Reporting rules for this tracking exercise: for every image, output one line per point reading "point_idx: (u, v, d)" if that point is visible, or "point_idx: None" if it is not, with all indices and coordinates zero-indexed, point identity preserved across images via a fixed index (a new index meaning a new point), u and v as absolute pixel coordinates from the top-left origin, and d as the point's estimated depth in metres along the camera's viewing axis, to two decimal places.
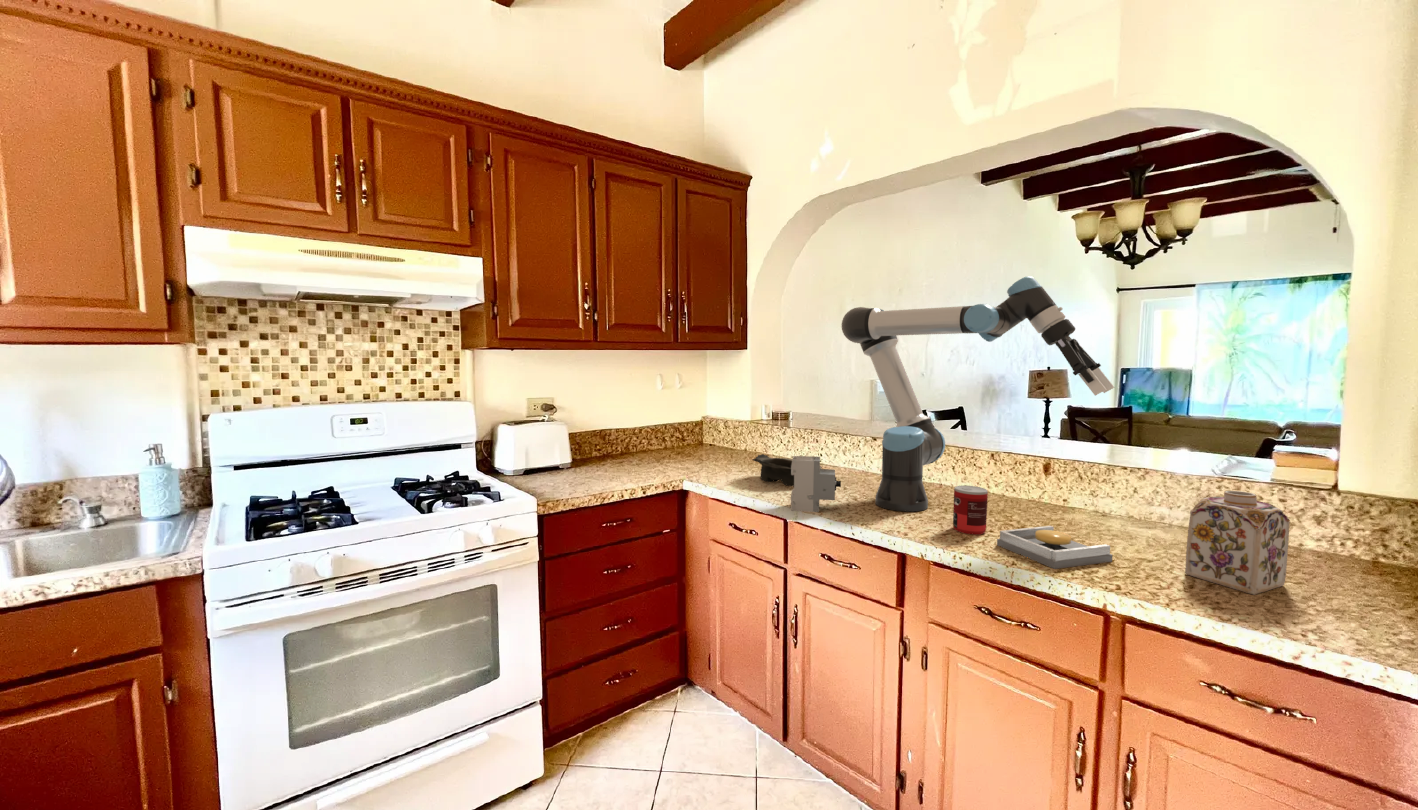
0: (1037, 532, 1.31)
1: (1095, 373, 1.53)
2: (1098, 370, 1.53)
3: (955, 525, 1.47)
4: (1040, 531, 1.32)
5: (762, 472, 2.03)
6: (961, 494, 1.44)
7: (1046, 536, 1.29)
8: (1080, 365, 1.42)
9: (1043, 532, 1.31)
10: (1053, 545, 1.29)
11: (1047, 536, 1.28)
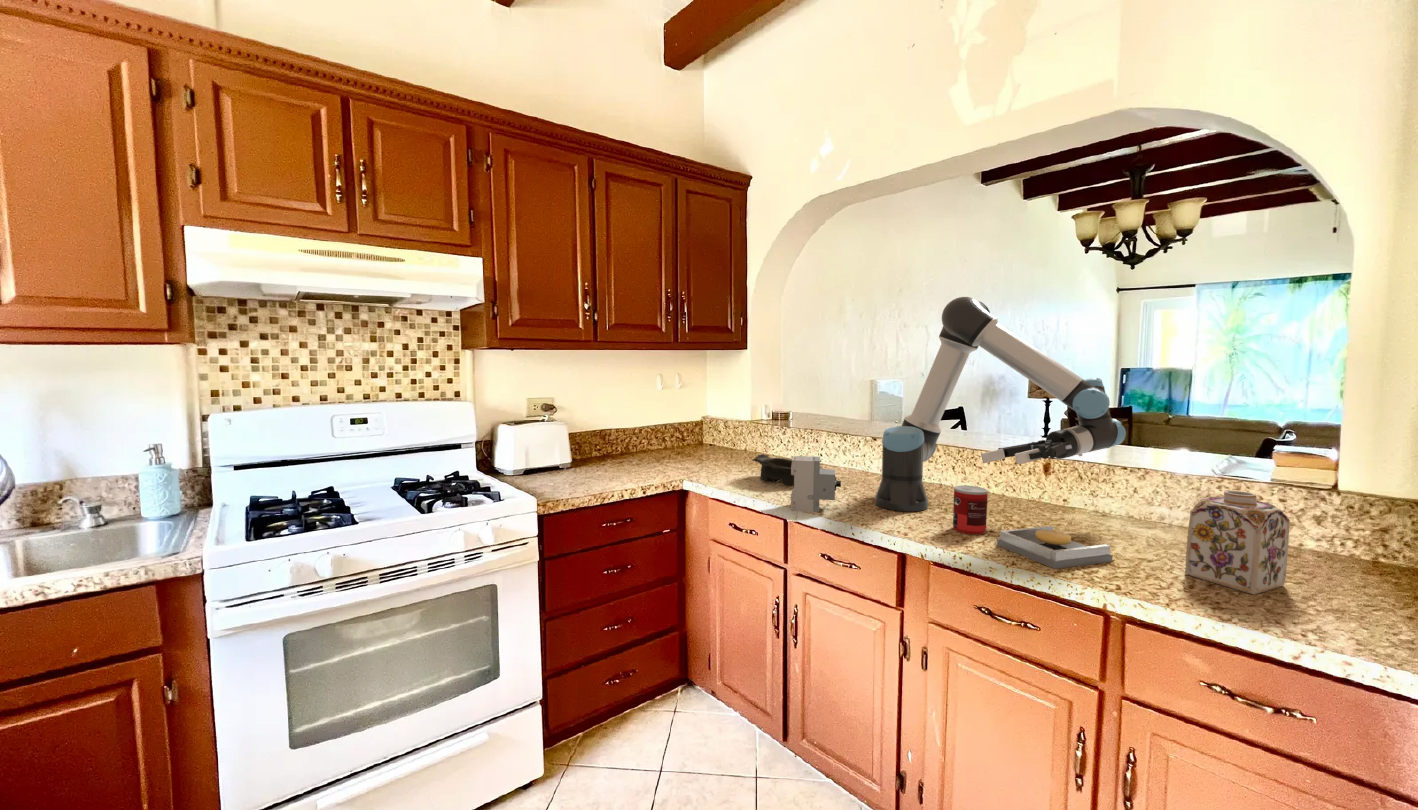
0: (1037, 532, 1.31)
1: (1001, 454, 1.57)
2: (1002, 457, 1.57)
3: (955, 525, 1.47)
4: (1040, 531, 1.32)
5: (762, 472, 2.03)
6: (961, 494, 1.44)
7: (1046, 536, 1.29)
8: (1054, 455, 1.41)
9: (1043, 532, 1.31)
10: (1053, 545, 1.29)
11: (1047, 536, 1.28)
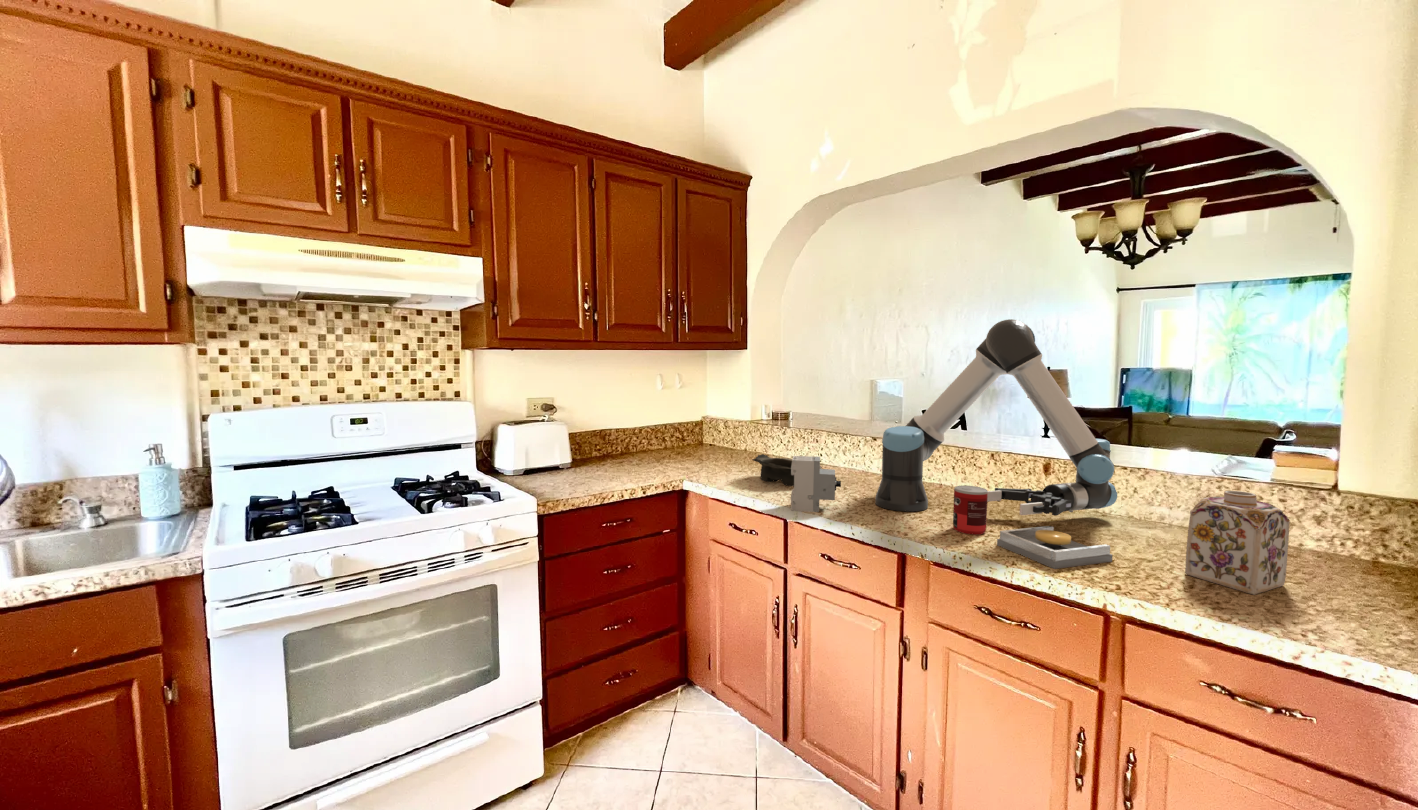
0: (1037, 532, 1.31)
1: (998, 495, 1.57)
2: (999, 499, 1.57)
3: (955, 525, 1.47)
4: (1040, 531, 1.32)
5: (762, 472, 2.03)
6: (961, 494, 1.44)
7: (1046, 536, 1.29)
8: (1056, 513, 1.42)
9: (1043, 532, 1.31)
10: (1053, 545, 1.29)
11: (1047, 536, 1.28)
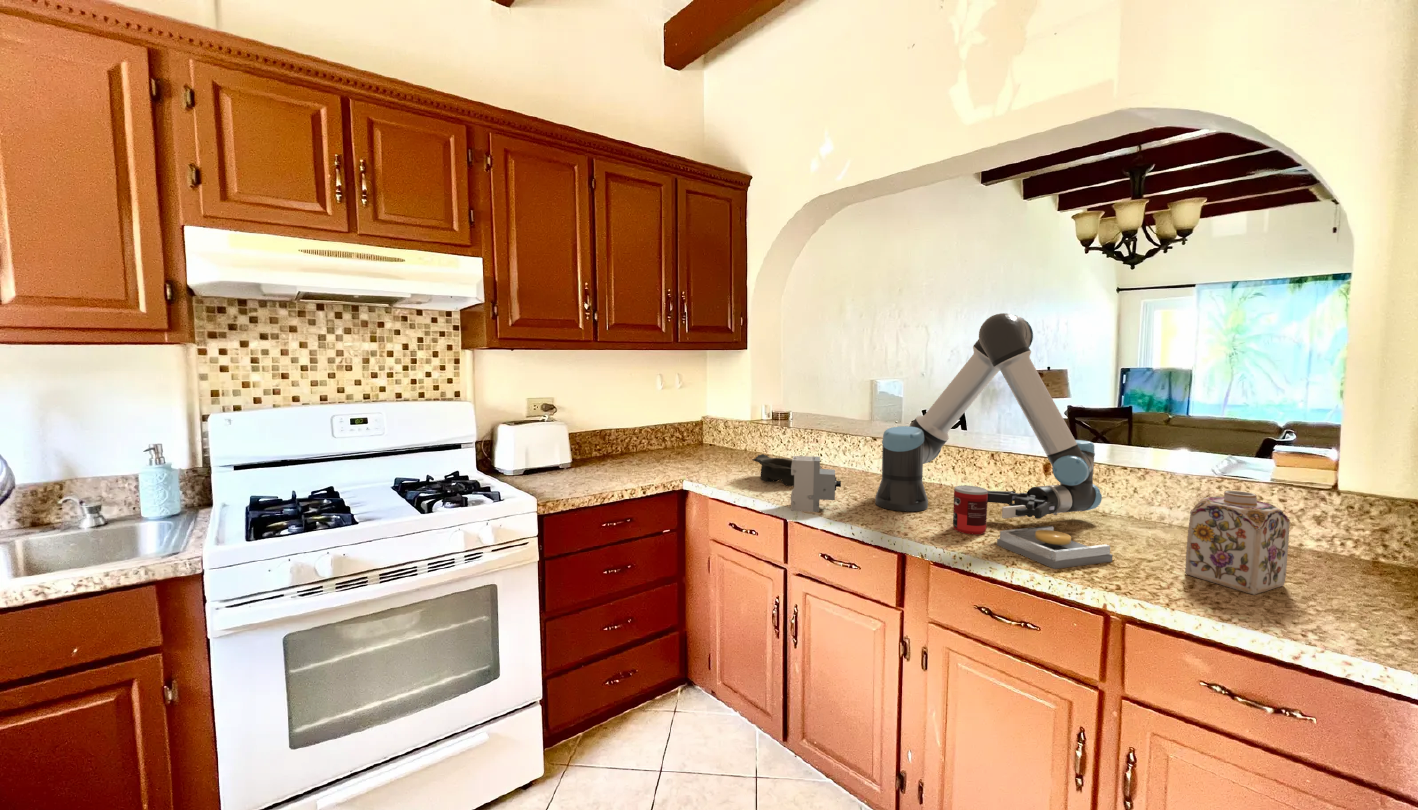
0: (1037, 532, 1.31)
1: None
2: None
3: (955, 525, 1.47)
4: (1040, 531, 1.32)
5: (762, 472, 2.03)
6: (961, 494, 1.44)
7: (1046, 536, 1.29)
8: (1039, 516, 1.40)
9: (1043, 532, 1.31)
10: (1053, 545, 1.29)
11: (1047, 536, 1.28)
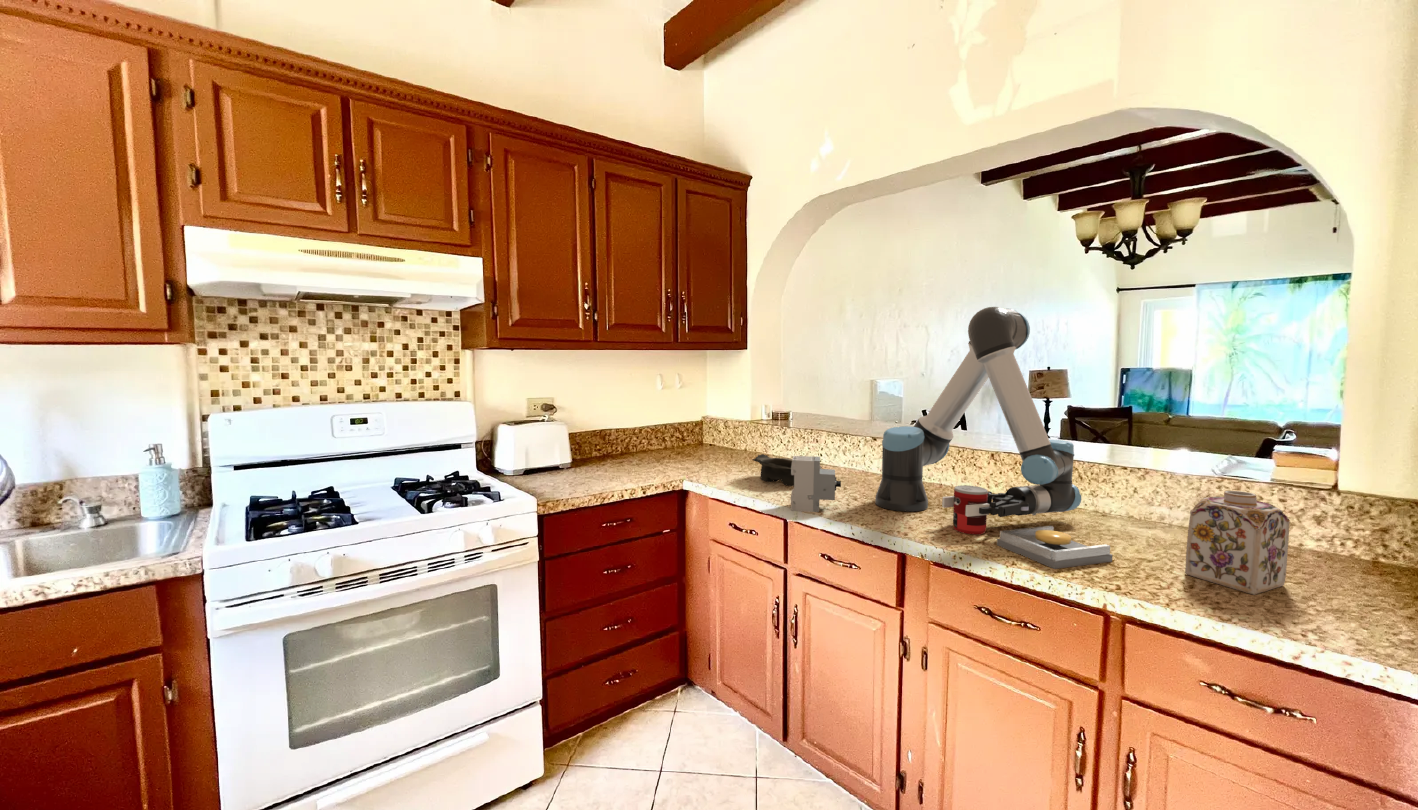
0: (1037, 532, 1.31)
1: None
2: None
3: (955, 525, 1.47)
4: (1040, 531, 1.32)
5: (762, 472, 2.03)
6: (961, 494, 1.44)
7: (1046, 536, 1.29)
8: (1001, 514, 1.40)
9: (1043, 532, 1.31)
10: (1053, 545, 1.29)
11: (1047, 536, 1.28)
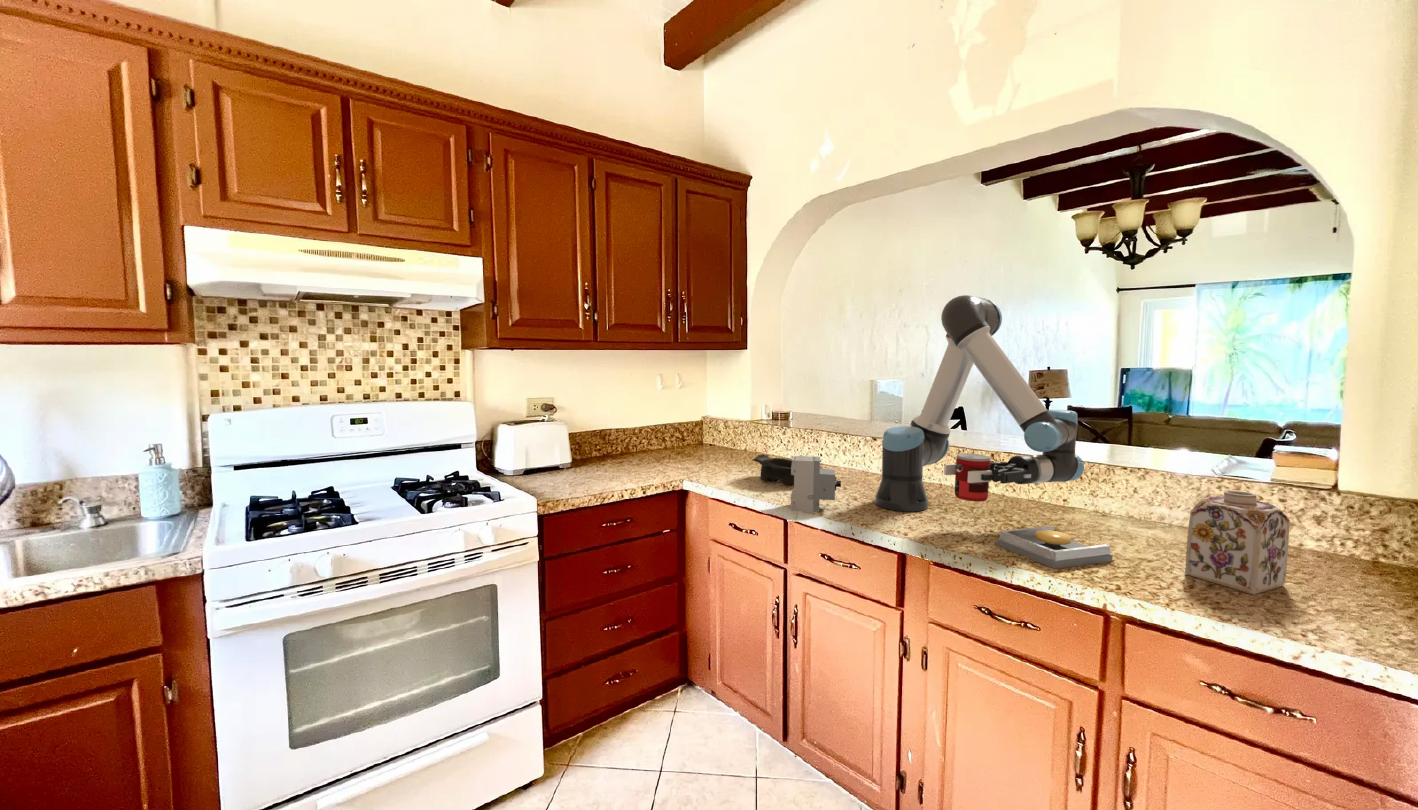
0: (1037, 532, 1.31)
1: None
2: None
3: (957, 492, 1.46)
4: (1040, 531, 1.32)
5: (762, 472, 2.03)
6: (964, 461, 1.44)
7: (1046, 536, 1.29)
8: (1004, 481, 1.40)
9: (1043, 532, 1.31)
10: (1053, 545, 1.29)
11: (1047, 536, 1.28)
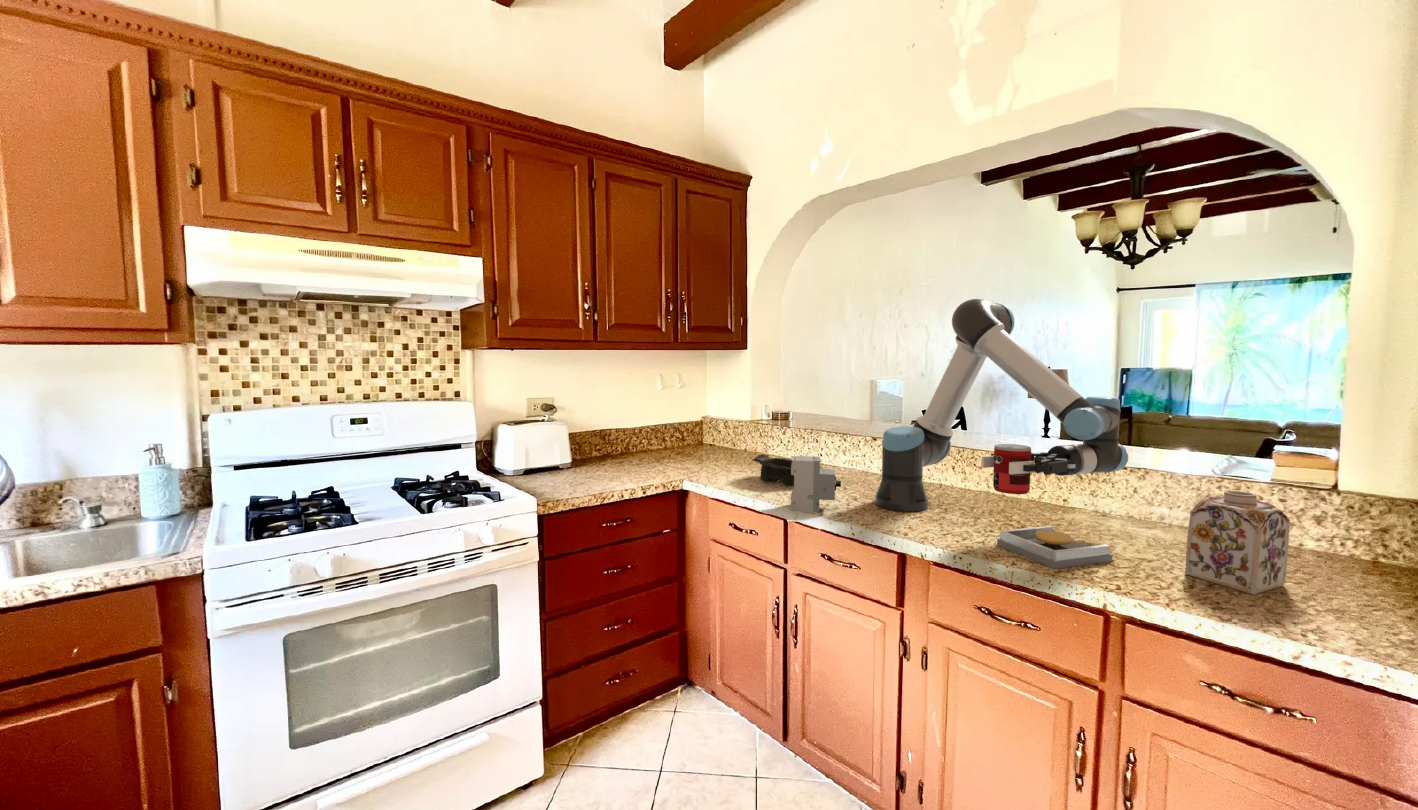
0: (1037, 532, 1.31)
1: None
2: None
3: (996, 485, 1.38)
4: (1040, 531, 1.32)
5: (762, 472, 2.03)
6: (1003, 452, 1.35)
7: (1046, 536, 1.29)
8: (1048, 471, 1.31)
9: (1043, 532, 1.31)
10: (1053, 545, 1.29)
11: (1047, 536, 1.28)
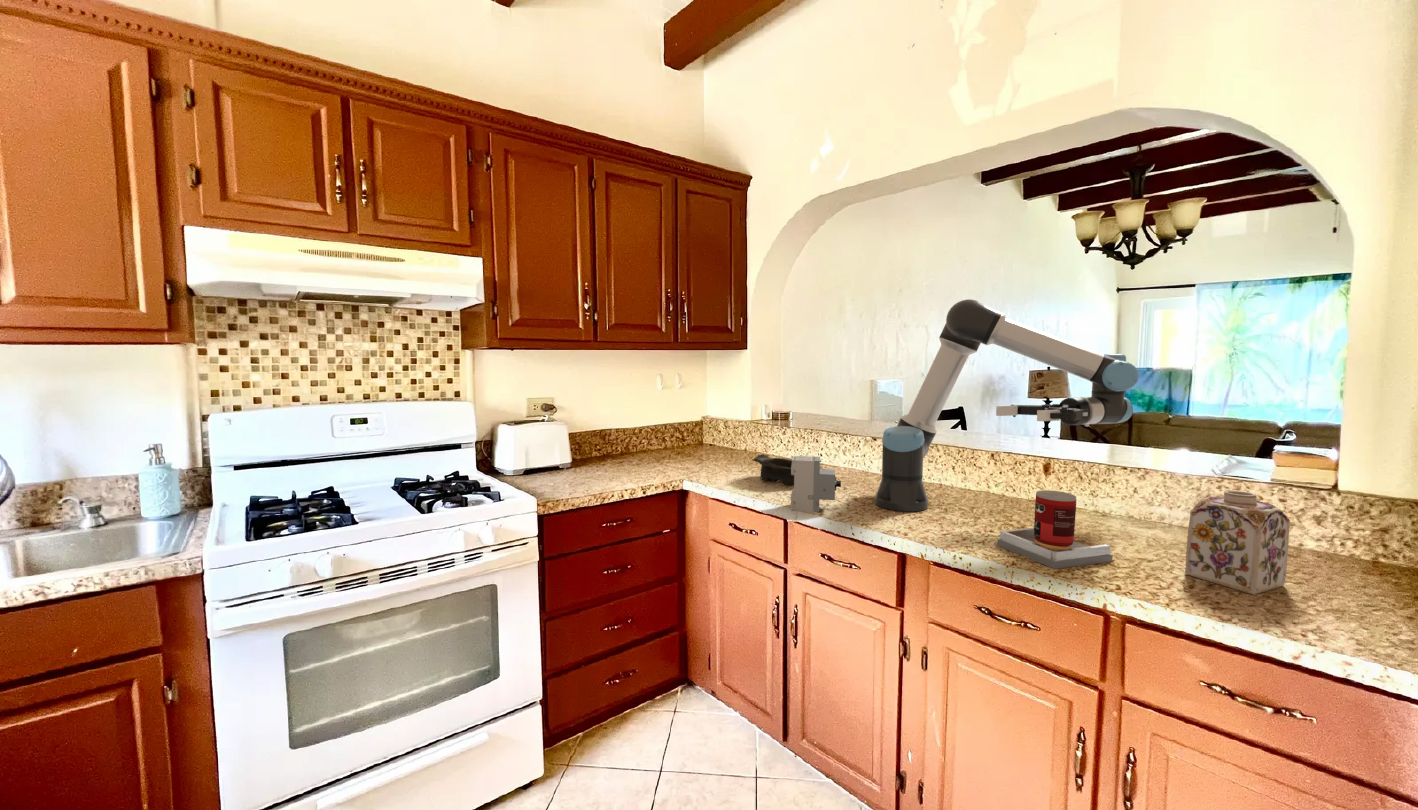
0: None
1: (1014, 410, 1.58)
2: (1015, 414, 1.58)
3: (1037, 535, 1.29)
4: None
5: (762, 472, 2.03)
6: (1047, 501, 1.27)
7: None
8: (1074, 418, 1.43)
9: None
10: None
11: None
